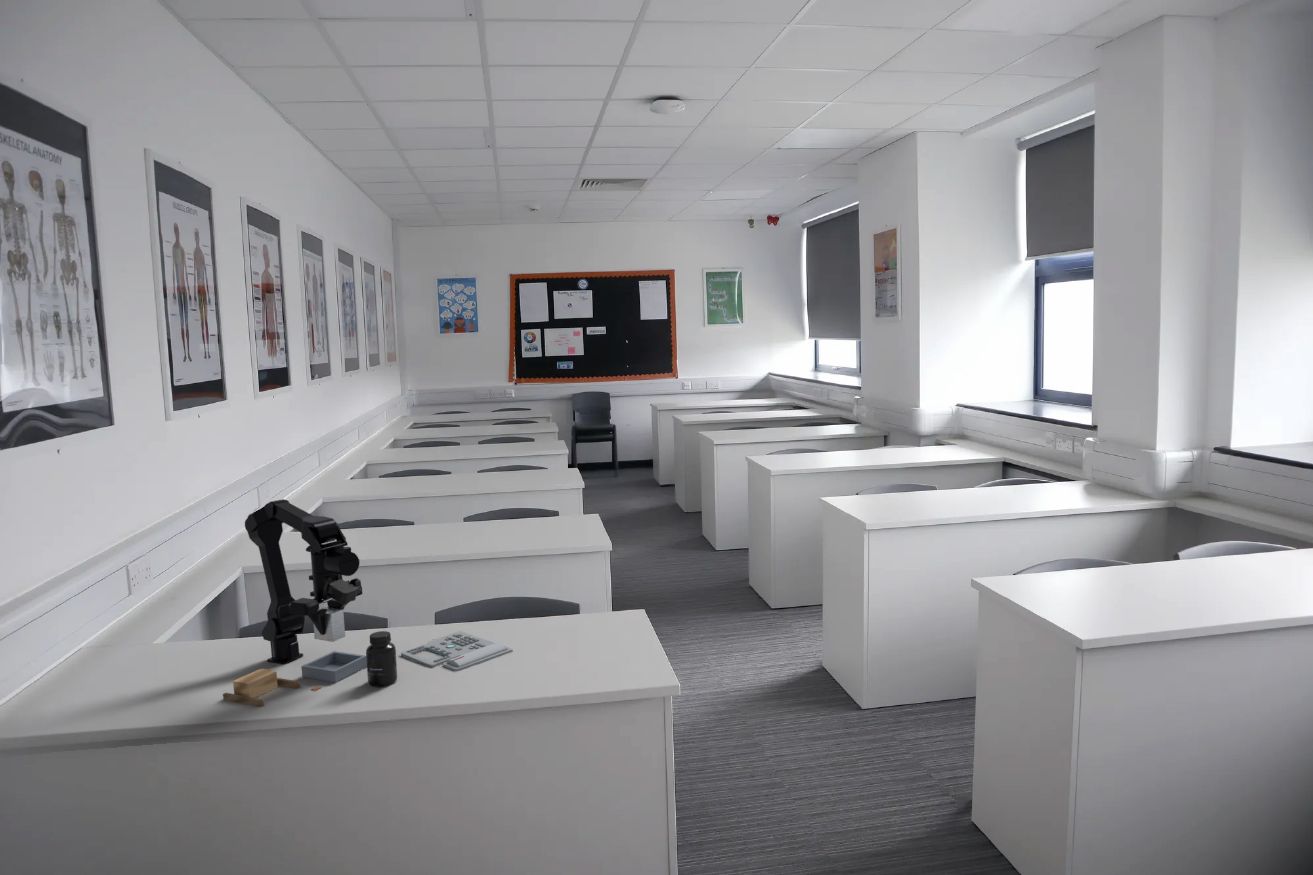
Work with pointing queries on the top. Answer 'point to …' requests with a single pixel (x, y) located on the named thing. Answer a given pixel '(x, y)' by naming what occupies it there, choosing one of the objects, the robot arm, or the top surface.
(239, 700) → the bar
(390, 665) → the supplement bottle
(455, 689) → the top surface
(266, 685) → the block
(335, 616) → the block
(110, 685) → the top surface
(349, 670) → the tray
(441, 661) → the office telephone
